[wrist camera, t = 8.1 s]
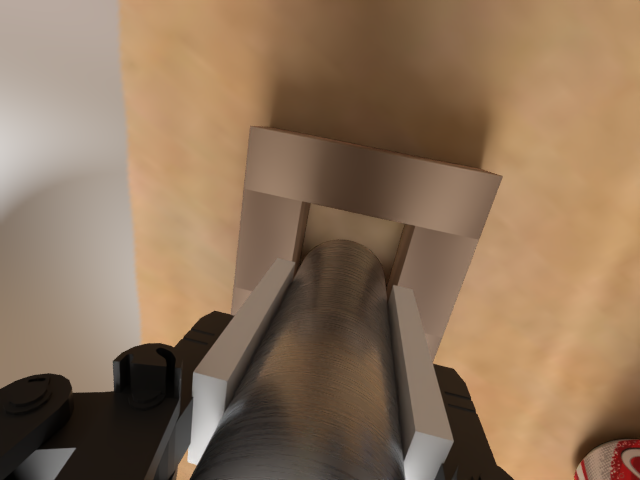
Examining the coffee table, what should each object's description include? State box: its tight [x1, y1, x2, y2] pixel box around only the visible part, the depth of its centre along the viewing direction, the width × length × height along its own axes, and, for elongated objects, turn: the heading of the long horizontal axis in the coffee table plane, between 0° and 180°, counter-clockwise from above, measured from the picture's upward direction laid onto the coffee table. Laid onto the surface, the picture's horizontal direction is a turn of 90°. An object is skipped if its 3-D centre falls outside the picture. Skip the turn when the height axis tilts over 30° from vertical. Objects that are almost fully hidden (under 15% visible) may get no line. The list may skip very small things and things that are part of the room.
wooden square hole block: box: [231, 126, 503, 363], centre depth 18 cm, size 12×12×3 cm
